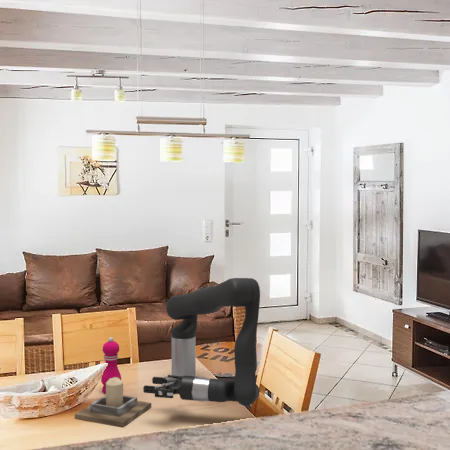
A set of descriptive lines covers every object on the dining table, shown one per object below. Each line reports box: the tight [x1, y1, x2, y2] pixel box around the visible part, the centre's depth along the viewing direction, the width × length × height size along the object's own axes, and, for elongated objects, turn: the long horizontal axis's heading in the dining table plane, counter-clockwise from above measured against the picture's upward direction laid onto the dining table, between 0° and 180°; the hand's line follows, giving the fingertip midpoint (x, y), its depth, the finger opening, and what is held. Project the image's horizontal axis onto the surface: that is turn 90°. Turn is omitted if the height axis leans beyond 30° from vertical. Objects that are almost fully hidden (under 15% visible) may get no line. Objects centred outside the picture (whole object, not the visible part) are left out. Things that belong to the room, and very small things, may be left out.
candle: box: [105, 377, 124, 408], centre depth 193 cm, size 6×6×10 cm
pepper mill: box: [100, 336, 122, 395], centre depth 213 cm, size 7×7×20 cm
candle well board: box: [74, 394, 152, 428], centre depth 193 cm, size 18×18×4 cm
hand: (148, 384), depth 191 cm, fingers open, 8 cm apart
